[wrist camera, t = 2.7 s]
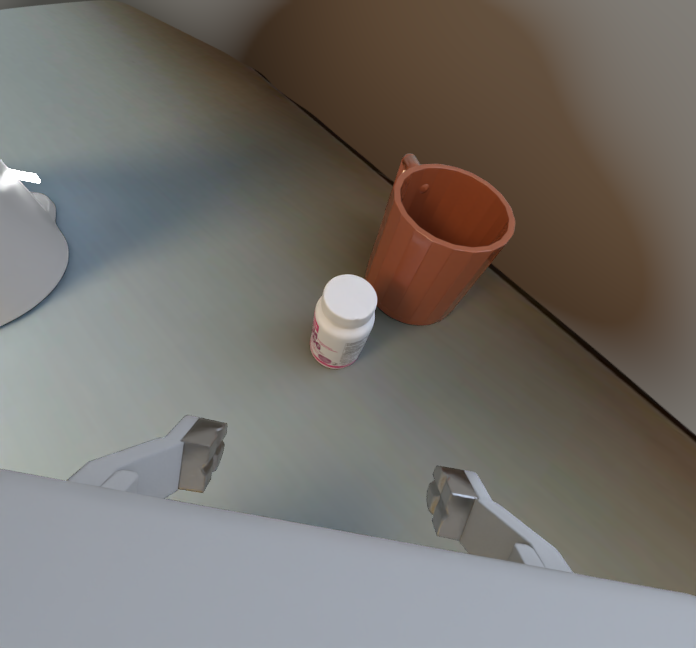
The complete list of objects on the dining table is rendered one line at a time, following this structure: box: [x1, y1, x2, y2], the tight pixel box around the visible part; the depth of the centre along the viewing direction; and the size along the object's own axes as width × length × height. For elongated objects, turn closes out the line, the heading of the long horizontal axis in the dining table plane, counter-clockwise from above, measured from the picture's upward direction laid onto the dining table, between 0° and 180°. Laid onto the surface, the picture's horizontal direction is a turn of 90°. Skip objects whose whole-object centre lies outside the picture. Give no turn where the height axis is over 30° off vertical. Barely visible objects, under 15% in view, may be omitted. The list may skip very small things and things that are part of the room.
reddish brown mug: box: [365, 154, 515, 325], centre depth 33 cm, size 14×10×11 cm
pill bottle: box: [310, 274, 377, 369], centre depth 28 cm, size 5×5×8 cm
